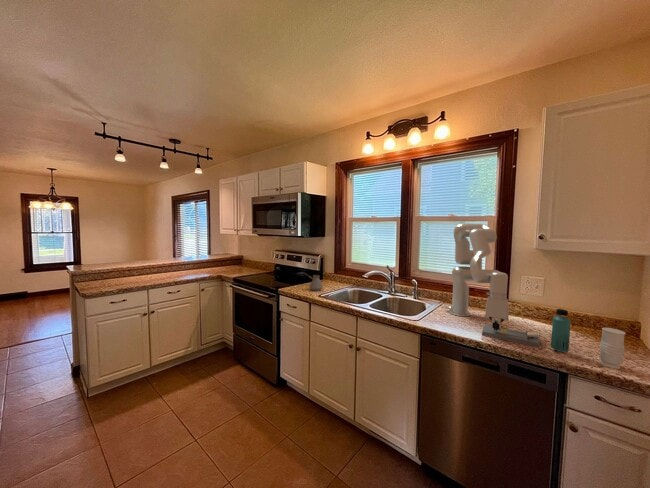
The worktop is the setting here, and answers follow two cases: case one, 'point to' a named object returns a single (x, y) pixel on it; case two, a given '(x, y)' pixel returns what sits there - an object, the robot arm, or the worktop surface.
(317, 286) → the gray watering can
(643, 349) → the worktop surface
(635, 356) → the worktop surface
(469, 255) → the robot arm
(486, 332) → the panel
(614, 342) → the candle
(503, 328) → the brass slider
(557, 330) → the beverage bottle
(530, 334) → the block
